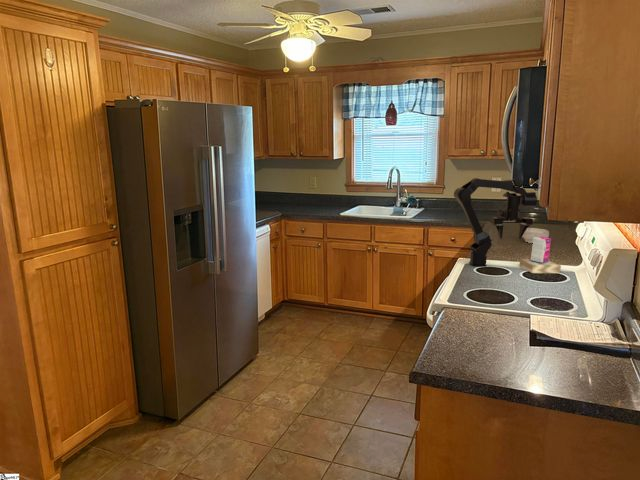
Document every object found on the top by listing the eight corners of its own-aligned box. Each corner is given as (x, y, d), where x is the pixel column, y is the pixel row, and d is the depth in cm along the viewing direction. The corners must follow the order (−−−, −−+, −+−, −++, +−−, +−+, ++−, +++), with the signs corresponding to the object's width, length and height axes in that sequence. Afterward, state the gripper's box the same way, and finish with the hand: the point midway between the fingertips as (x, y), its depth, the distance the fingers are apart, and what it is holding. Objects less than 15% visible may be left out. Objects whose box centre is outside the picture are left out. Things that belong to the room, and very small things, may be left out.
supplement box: (541, 263, 221) (544, 239, 219) (530, 261, 226) (532, 237, 224) (549, 262, 225) (551, 238, 222) (537, 259, 229) (539, 236, 227)
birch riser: (531, 273, 219) (532, 265, 219) (519, 266, 232) (520, 258, 231) (560, 273, 220) (560, 265, 219) (546, 266, 233) (546, 258, 232)
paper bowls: (550, 245, 284) (551, 232, 283) (522, 244, 289) (523, 230, 287) (545, 241, 299) (547, 228, 297) (519, 239, 303) (520, 227, 302)
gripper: (524, 204, 237) (522, 235, 240) (487, 204, 237) (484, 235, 240) (535, 207, 226) (532, 239, 229) (496, 207, 226) (493, 239, 229)
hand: (510, 238), depth 232 cm, fingers open, 9 cm apart
